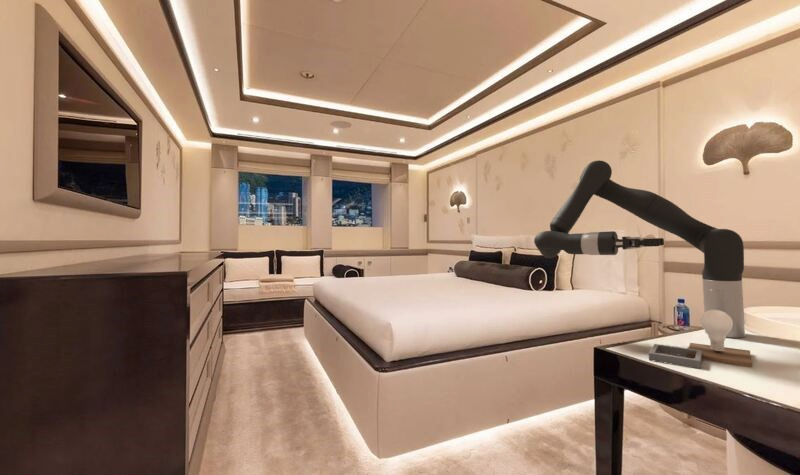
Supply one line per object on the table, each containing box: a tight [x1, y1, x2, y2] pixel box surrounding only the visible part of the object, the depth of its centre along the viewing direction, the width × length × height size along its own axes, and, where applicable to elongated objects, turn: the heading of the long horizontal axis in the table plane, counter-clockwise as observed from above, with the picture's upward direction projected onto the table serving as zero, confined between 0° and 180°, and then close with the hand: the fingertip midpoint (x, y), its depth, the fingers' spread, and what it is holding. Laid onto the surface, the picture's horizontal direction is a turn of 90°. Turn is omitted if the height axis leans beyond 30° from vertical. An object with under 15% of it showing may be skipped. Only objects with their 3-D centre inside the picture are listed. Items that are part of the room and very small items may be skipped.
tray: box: [648, 343, 703, 369], centre depth 90 cm, size 10×10×2 cm
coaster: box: [686, 342, 753, 368], centre depth 91 cm, size 12×12×1 cm
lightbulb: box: [699, 310, 733, 352], centre depth 91 cm, size 6×6×11 cm
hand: (661, 242), depth 101 cm, fingers open, 8 cm apart
